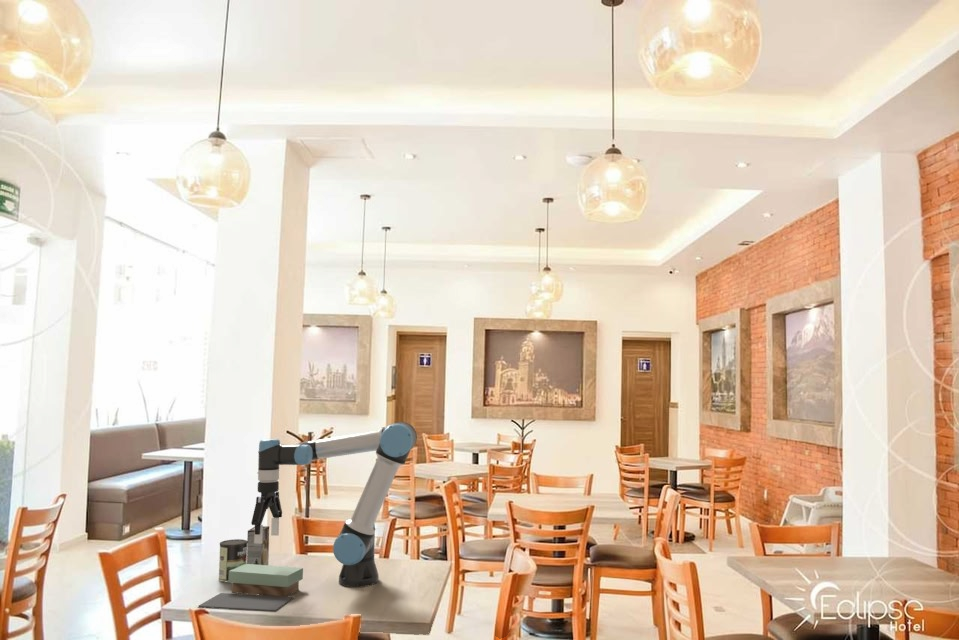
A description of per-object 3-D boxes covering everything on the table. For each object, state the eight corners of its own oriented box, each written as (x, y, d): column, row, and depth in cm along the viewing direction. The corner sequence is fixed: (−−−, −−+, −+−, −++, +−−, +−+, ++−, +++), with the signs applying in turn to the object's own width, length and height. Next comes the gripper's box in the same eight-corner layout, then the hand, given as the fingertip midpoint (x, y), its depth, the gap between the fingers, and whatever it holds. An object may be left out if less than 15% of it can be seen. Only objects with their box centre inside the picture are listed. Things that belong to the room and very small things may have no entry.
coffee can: (251, 576, 275) (252, 539, 276) (237, 583, 265) (238, 545, 266) (227, 574, 277) (229, 538, 278) (212, 581, 267) (214, 544, 268)
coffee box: (253, 564, 292) (254, 525, 293) (268, 565, 292) (269, 526, 293) (246, 570, 283) (247, 530, 284) (261, 570, 283) (262, 530, 284)
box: (298, 590, 257) (299, 571, 257) (285, 597, 248) (286, 577, 249) (245, 586, 262) (246, 567, 263) (231, 593, 253) (232, 573, 254)
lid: (302, 579, 258) (303, 568, 258) (287, 587, 247) (287, 575, 248) (245, 574, 264) (246, 563, 264) (228, 582, 253) (228, 571, 253)
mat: (294, 598, 247) (294, 596, 247) (275, 611, 232) (275, 610, 232) (220, 594, 251) (220, 592, 251) (197, 607, 236) (198, 605, 236)
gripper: (273, 476, 272) (272, 531, 270) (242, 485, 247) (240, 546, 245) (291, 476, 271) (290, 532, 269) (262, 485, 246) (260, 547, 244)
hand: (266, 539), depth 257 cm, fingers open, 13 cm apart
